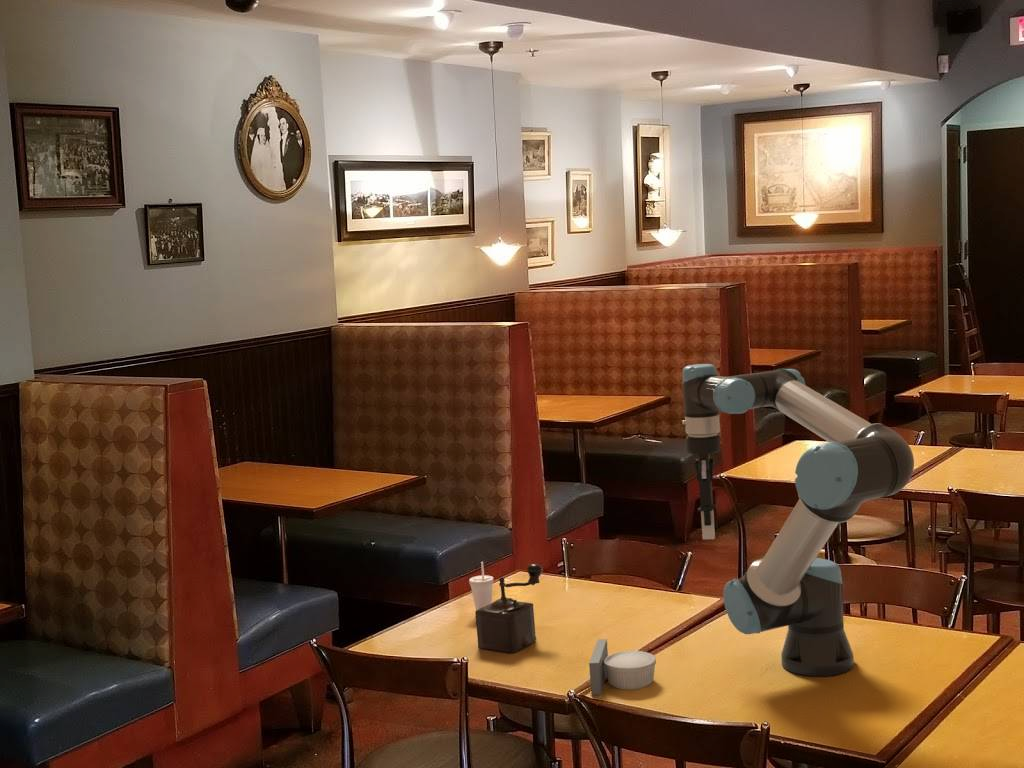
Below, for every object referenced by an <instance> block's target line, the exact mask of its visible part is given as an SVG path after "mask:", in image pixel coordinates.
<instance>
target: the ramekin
mask: <svg viewBox="0 0 1024 768" xmlns="http://www.w3.org/2000/svg"><path fill="white" fill-rule="evenodd" d="M603 662H604V666H605V669H606V673H607V677H606V678H607V681H608V683H609V684H610V685H611V686H612V687H613V686H614V687H613V688H615V687H616V688H615V689H618V688H619V690H624V689H626V690H627V691H629V690H630V691H632V690H639V689H640V690H641V689H643V688H646V687H649V686H650V685H651V683H652V682H654V678H655V666H656V664H657V659H656V657H655V655H654V654H652V653H650V652H647V651H641V650H625V651H618V652H614V653H611V654H608V656H607V657H606V658H605V659H604V661H603ZM626 690H625V691H626Z"/></svg>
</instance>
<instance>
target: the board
mask: <svg viewBox="0 0 1024 768" xmlns="http://www.w3.org/2000/svg"><path fill="white" fill-rule="evenodd" d="M607 656H609V653H608V639H606V638H598V639H597V641H596V643H595V647H594V649H593V652H592V654H591V657H590V660H589V662H588V665H589V679H590V680H589V681H590V692H591V693H590V694H591V696H602V693H603V689H604V686H605V684H604V683H606V681H605V680H606V679H607V678H608V677H607V673H606V669H605V666H604V662H603V661H604V659H605V658H606V657H607Z"/></svg>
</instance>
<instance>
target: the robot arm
mask: <svg viewBox="0 0 1024 768" xmlns="http://www.w3.org/2000/svg"><path fill="white" fill-rule="evenodd" d="M716 367H717V366H715V365H714V364H711V363H697V364H695V363H694V364H690V365H686V366H684V367H683V368H682V383H681V386H682V397H683V398H682V399H683V411H684V420H681V423H682V425H685V433H686V434H687V435H686V437H685V446H686V448H685V449H686V452H687V453H688V454H690V455H697V457H698V458H696V459H695V462H694V467H695V470H696V480H697V481H698V485H699V486H698V487H699V488H698V489H699V500H700V506H699V507H698V508H697V512H700V517H701V520H700V522H701V533H702V534H701V536H702V540H715V539H716V533H715V514H714V513H715V511H714V509H716V508H717V505H716V504H714V499H713V479H714V465H715V464H714V463H715V462H714V461H715V460H714V458H711V456H710V455H711V454H716V453H719V452H720V451H721V448H722V447H721V446H722V445H721V435H720V434H719V433H720V432H721V427H720V426H721V424H720V413H719V412H721V413H725V414H729V415H733V414H737V415H740V414H744V413H746V412H747V411H749V410H753V409H760V408H766V407H771V408H774V409H775V410H778V411H780V413H782V414H784V415H785V416H787V417H788V418H790V419H791V420H792V421H794V422H796V423H798V425H799V424H800V425H801V426H803V427H804V428H805V429H807V430H809V431H811V432H812V433H814V434H815V435H817V436H818V437H820V438H821V439H823V440H825V441H827V442H824V443H822V444H818V445H816V446H815V445H814V446H812V447H810V448H809V449H807V450H806V451H804V452H803V454H801V457H800V458H798V459H799V460H798V461H797V463H796V467H795V473H794V474H795V475H796V477H795V478H794V482H795V489H796V491H797V496H798V498H799V499H798V500H797V502H796V504H795V505H794V507H793V509H792V510H791V512H790V514H789V515H788V517H787V518H786V521H785V522H784V523H783V525H782V527H781V529H780V530H779V531H778V534H777V535H776V537H775V539H774V540H773V542H772V544H771V545H770V547H769V548H768V550H767V552H766V554H764V556H763V558H760V559H756V560H754V561H753V562H752V563H751V564H750V565H749V567H748V568H747V570H746V572H745V573H744V575H743V576H741V577H740V578H732V579H730V580H729V581H727V582H726V583H725V585H724V588H723V603H724V608H725V612H726V614H727V616H728V619H729V620H730V622H731V624H732V625H733V627H734V628H735V629H736V630H737V631H738V632H739V633H742V634H744V635H753V634H754V635H755V634H761V633H763V632H768V631H771V630H775V629H780V628H784V627H788V628H787V633H786V636H785V640H784V644H783V647H782V650H781V654H780V655H781V666H782V667H783V669H785V670H787V671H788V672H791V673H792V674H796V675H802V676H809V677H810V676H811V677H828V676H829V677H830V676H836V675H841V674H844V673H847V672H850V671H851V670H852V669H853V668H854V665H855V659H854V658H855V657H854V652H853V649H852V646H851V644H850V641H849V639H848V636H847V633H846V632H845V627H844V623H845V622H844V603H843V600H844V599H843V584H844V582H843V579H842V571H841V570H842V569H841V567H840V565H839V564H838V563H836V562H835V561H832V560H829V559H826V558H820V557H818V555H819V554H820V552H821V551H822V549H823V548H824V546H825V545H826V543H827V542H828V541H829V538H830V537H831V536H832V535H833V533H834V531H835V529H836V528H837V527H838V525H839V524H841V523H847V522H849V521H850V520H851V519H852V518H853V517H854V516H855V514H856V513H857V512H858V510H859V509H860V507H861V506H862V504H863V503H864V502H866V501H871V500H876V499H881V498H886V497H890V496H893V495H895V494H897V493H899V492H900V491H901V490H903V489H904V488H905V487H906V486H907V485H908V483H909V482H910V480H911V478H912V476H913V472H914V469H915V468H914V467H915V459H914V453H913V451H912V448H911V447H910V445H909V443H908V442H907V441H906V440H905V439H904V438H903V436H902V435H901V434H899V433H898V432H896V431H894V430H893V429H892V428H890V427H888V426H886V425H885V424H883V423H877V422H876V423H875V422H874V423H871V422H869V421H867V420H866V419H864V418H862V417H860V416H859V415H857V414H855V413H853V412H852V411H851V410H848V409H846V408H845V407H843V406H842V405H840V404H838V403H836V401H833V400H832V399H830V398H827V396H824V395H823V394H821V393H819V392H818V391H816V390H814V389H812V388H811V387H809V386H808V385H806V382H805V381H806V380H805V378H804V377H803V376H802V375H801V374H802V373H801V372H800V371H799V370H797V369H794V368H778V369H774V370H768V371H767V370H766V371H761V372H755V373H754V372H753V373H745V374H737V375H731V376H730V375H729V376H724V375H723V376H720V375H718V372H717V368H716Z"/></svg>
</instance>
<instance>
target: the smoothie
mask: <svg viewBox="0 0 1024 768" xmlns="http://www.w3.org/2000/svg"><path fill="white" fill-rule="evenodd" d="M480 565H481V567H480V569H481V575H476V576H472V577H471V578H469V582H468V583H469V585H470V588H471V592H472V598H473V602H474V607H475V611H476V610H478V609H480V608H482V607H485V606H487V605H489V604H491V603H493V585H494V584H493V583H494V582H495V580H494V576H491V575H488V574H487V575H486V574H485V569H484V561H481V562H480Z"/></svg>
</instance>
